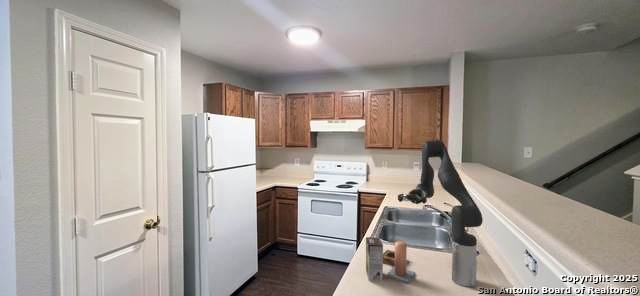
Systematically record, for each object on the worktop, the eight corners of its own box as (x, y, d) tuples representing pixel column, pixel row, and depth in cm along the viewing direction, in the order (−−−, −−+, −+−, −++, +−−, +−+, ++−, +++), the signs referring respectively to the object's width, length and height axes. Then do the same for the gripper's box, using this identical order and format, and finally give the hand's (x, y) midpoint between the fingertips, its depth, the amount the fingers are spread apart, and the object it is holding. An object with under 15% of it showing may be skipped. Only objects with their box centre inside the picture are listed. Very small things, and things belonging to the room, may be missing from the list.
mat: (415, 274, 126) (415, 272, 126) (408, 283, 118) (408, 281, 118) (393, 268, 132) (393, 266, 131) (386, 277, 123) (386, 274, 123)
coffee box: (365, 270, 129) (365, 236, 128) (379, 270, 129) (379, 237, 128) (368, 280, 120) (368, 244, 119) (383, 281, 120) (383, 244, 119)
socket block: (406, 260, 140) (406, 254, 140) (399, 267, 132) (399, 261, 132) (387, 255, 146) (387, 249, 146) (379, 262, 138) (379, 256, 138)
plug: (407, 273, 125) (407, 242, 124) (404, 277, 121) (404, 246, 120) (396, 270, 128) (397, 240, 127) (393, 274, 124) (393, 243, 123)
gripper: (404, 187, 158) (394, 192, 144) (430, 190, 150) (422, 195, 136) (404, 200, 158) (394, 206, 145) (430, 203, 150) (422, 210, 137)
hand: (408, 201), depth 141 cm, fingers open, 8 cm apart
